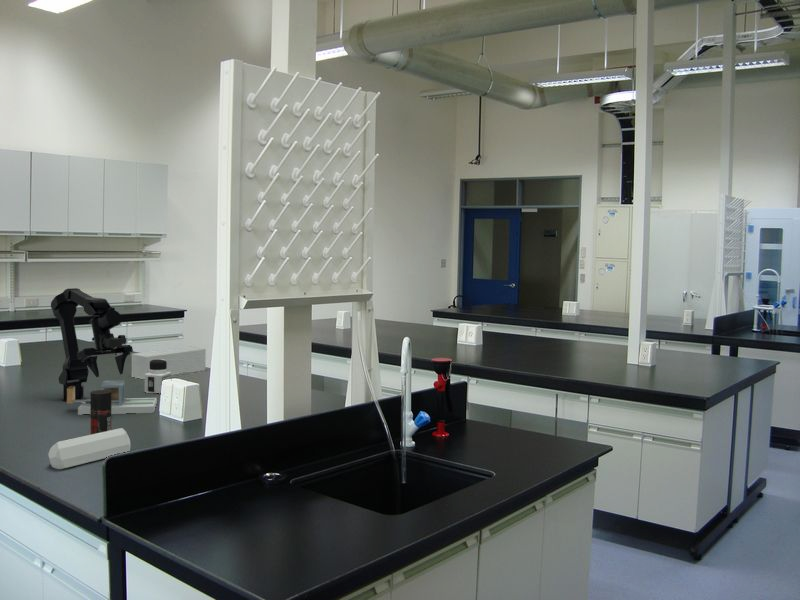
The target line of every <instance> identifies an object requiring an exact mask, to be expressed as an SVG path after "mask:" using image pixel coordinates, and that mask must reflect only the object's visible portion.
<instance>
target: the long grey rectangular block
mask: <svg viewBox="0 0 800 600" xmlns="http://www.w3.org/2000/svg"><path fill="white" fill-rule="evenodd" d="M206 351H207V350H206V348H201V347H197V346H196V347H195V346H185V347H183V346H182V347H175V348H168V349H161V350H153V351H145V352H144V351H143V352H137V353H136V352H134V353H131V378H132V377H135V378H134V379H136V378H140V379H145V374H146V373H149V372H150V361H152V360H155V359H163V360H165V361H167V371H166V372H171V375H174V374H179V373H183V372H195V371H200V370H203V371H204V370H205V371H206V361H207V360H206V357H207V356H206V354H207V353H206ZM205 371H204V372H205ZM140 379H139V380H140Z"/></svg>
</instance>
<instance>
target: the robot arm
mask: <svg viewBox="0 0 800 600" xmlns="http://www.w3.org/2000/svg"><path fill="white" fill-rule="evenodd" d="M78 306H81V307H82V308H83V312H84V313H85V314H87V316H91V318H90V320H89V321H88V324H89V325H91V328H92V335H93V336H92V338H91V342H94V345H95V347H88V348H87V347H86V348H83V349H80V350H79V344H78V339H77V333H76V326H75V320H74V318H75V316H76V313H77V307H78ZM50 308H51V310H52V313H53V316H54V317H55V318H56V319H57V320H58V322H59V325H60V331H61V332H60V333H61V338H62V344H63V349H64V355H65V360H64V362H63V364H62V371H61V373H60V374H59V377H58V383H59V384H61V385H63V386H62V387H63V388H62V389H63V393H62V394H63V398H62V401H64V402H65V401H66V402H67V388H68V387H69V386H75V400H77V399H84V397H85V385H83V384H84V383H87V381H88V379H89V378H88V376H89V372H90V371H91V372H92V374H93V375H94V376H95V377H96V378H99V377H100V372H99V368H98V362H97V361H98V356H102V355H103V356H104V355H113V354H114V355H115V356H114V360H115V363H116V367H117V369H118V372H119V375H123V373H124V369H125V363H126V360H127V357H129V355H131V354H132V353H134V349H133V346H132V345H131V344H127V337H126V334H119V335H117V337H115V336H114V335H115V334H113V333H111V330H112V329H114V328H116V327H117V326H120V324H121V323H122V320H123V319H122V315H121V313H120V312H118V310H116V309H115V307H114V306H111V304H110V303H109V302H108V300H107V299H106V298H102V297H101V298H100V297H94V296H91V295H89V294H87V292H83V291H82V290H81V289H80V288H76V287H75V288H66V289H64V290H63V292H61V293H59V294H57V295H55V296H54V298H52V300H51V302H50ZM89 369H90V371H89Z"/></svg>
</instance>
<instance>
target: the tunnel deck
mask: <svg viewBox="0 0 800 600" xmlns="http://www.w3.org/2000/svg"><path fill="white" fill-rule="evenodd" d="M125 382H126V381H125V380H123V379H122V380H103V382H102V383H101V385H100V390H105V388H119V402H111V415H124V414H126V413H136V414H155V410H156V408H155V407H157V405H156V404H158V403H157V401H158V400H157V397H141V398H140V397H134V398H133V397H131V398H127V400H126V402H122V397H125V395H126V394H125V393H126V390H125V388H126V387H125V386H126V385H125ZM82 414H90V402H81V404H80V405H79V406H78V408H77V415H78V416H83V415H82ZM126 415H127V414H126Z"/></svg>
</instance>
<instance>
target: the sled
mask: <svg viewBox="0 0 800 600" xmlns="http://www.w3.org/2000/svg"><path fill="white" fill-rule="evenodd" d="M126 400H127V397H122V402H126ZM82 402H90V398H85V399H84V398H82V399H77V400H75V386H69V387H68V388H67V401H66V403H67V404H74V403H82ZM111 402H119V400H115V401H111Z"/></svg>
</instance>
